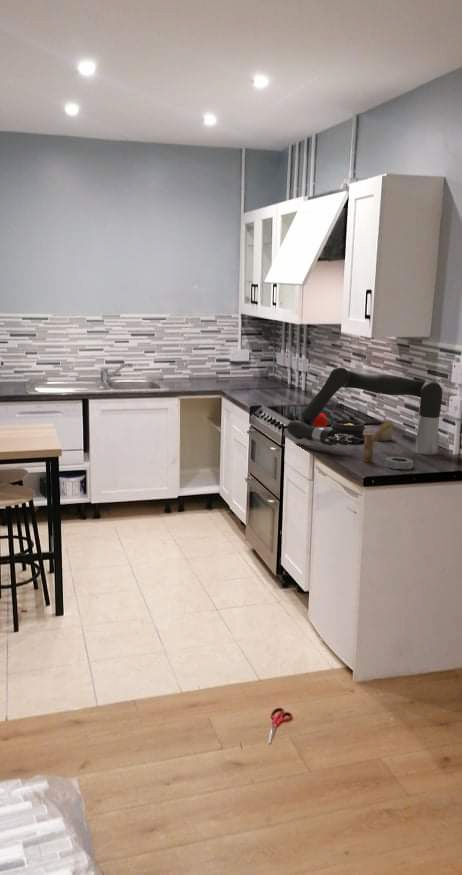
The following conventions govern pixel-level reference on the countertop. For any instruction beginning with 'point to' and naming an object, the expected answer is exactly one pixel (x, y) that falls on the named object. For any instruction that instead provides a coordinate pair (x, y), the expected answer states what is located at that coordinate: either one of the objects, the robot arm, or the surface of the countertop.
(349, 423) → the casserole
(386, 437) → the rock
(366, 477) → the countertop surface
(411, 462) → the collar
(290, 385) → the countertop surface
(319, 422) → the tomato
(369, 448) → the dowel
